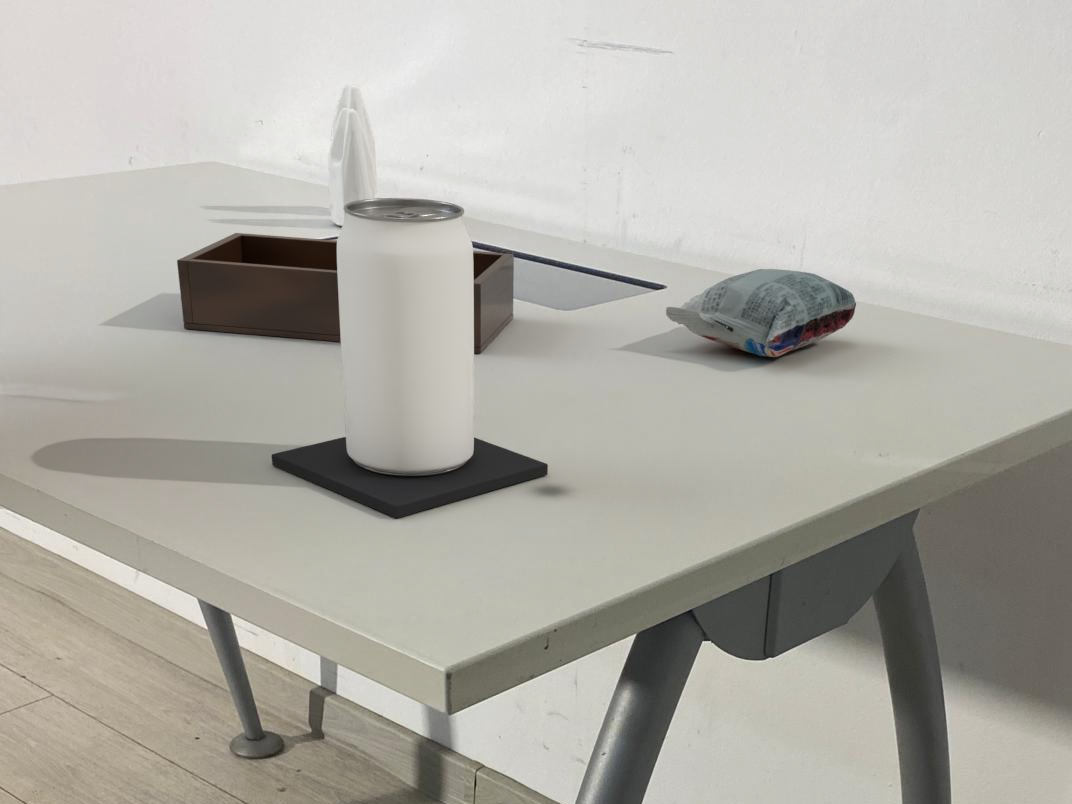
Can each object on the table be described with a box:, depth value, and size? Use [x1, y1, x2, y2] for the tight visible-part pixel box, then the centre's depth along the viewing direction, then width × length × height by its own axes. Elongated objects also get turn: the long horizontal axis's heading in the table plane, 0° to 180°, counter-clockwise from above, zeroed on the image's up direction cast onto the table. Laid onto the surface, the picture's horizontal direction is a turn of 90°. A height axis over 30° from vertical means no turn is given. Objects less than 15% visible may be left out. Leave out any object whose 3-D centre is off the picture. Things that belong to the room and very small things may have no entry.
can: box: [337, 197, 475, 477], centre depth 70 cm, size 6×6×12 cm
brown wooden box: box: [176, 232, 515, 354], centre depth 98 cm, size 20×10×4 cm, turn 81°
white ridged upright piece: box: [327, 84, 379, 227], centre depth 131 cm, size 12×4×11 cm, turn 6°
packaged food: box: [665, 268, 857, 358], centre depth 97 cm, size 9×12×5 cm
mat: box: [271, 436, 549, 519], centre depth 73 cm, size 10×10×1 cm
